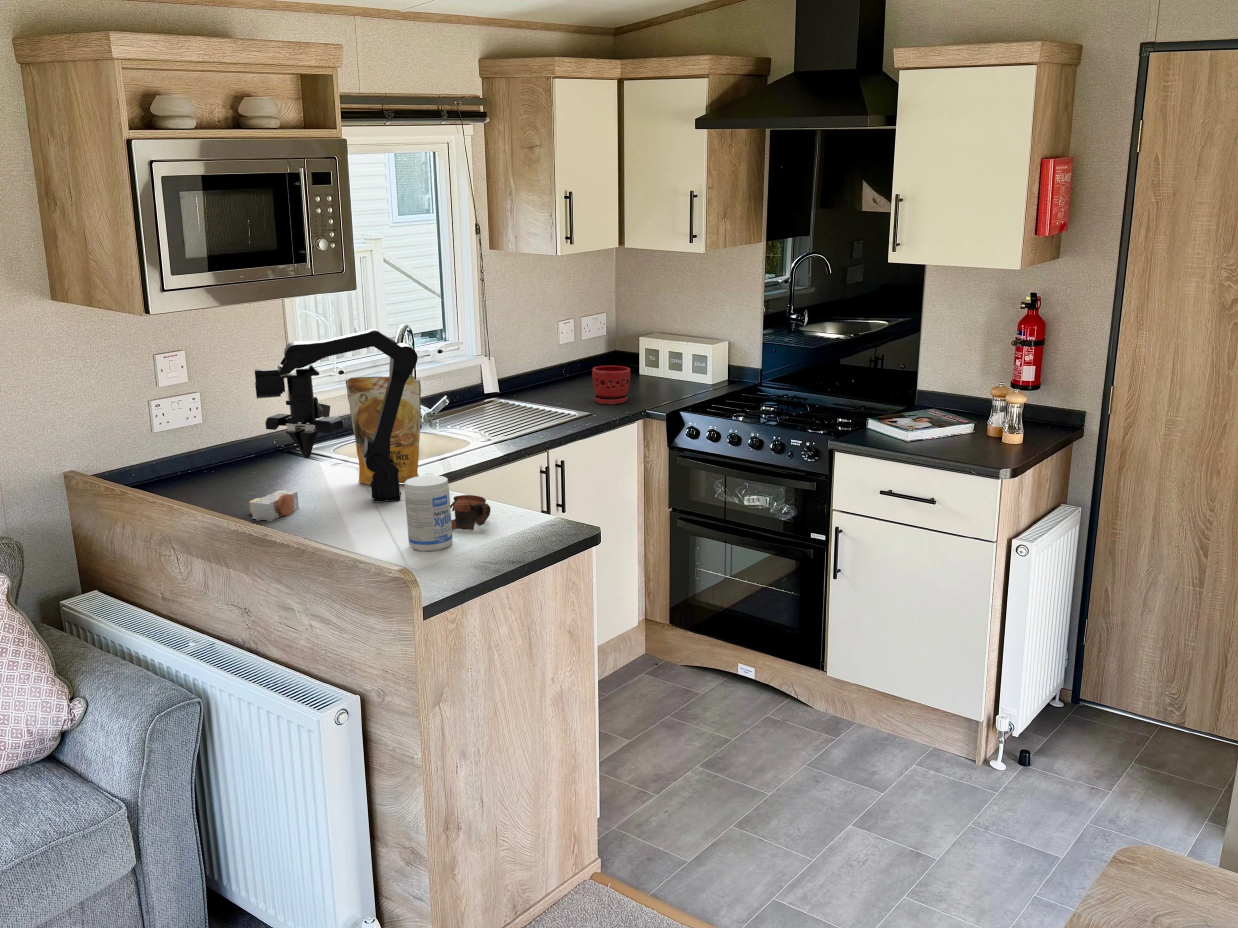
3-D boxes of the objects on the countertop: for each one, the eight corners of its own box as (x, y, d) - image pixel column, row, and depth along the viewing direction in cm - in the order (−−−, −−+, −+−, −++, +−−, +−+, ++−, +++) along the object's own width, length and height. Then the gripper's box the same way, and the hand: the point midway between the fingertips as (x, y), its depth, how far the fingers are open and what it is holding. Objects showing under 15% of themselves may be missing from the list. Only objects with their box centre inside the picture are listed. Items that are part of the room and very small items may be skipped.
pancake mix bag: (358, 478, 305) (348, 375, 298) (428, 478, 304) (420, 374, 297) (351, 485, 299) (341, 380, 292) (422, 484, 297) (414, 379, 290)
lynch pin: (295, 512, 277) (293, 491, 276) (282, 518, 272) (279, 497, 271) (261, 509, 281) (259, 488, 279) (247, 515, 276) (245, 494, 275)
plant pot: (610, 407, 385) (609, 372, 382) (585, 402, 394) (584, 368, 391) (639, 401, 393) (638, 367, 390) (613, 396, 403) (612, 363, 400)
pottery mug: (438, 530, 261) (441, 495, 263) (468, 538, 268) (471, 504, 270) (475, 525, 254) (478, 489, 256) (505, 533, 261) (508, 498, 263)
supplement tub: (445, 553, 244) (440, 486, 240) (402, 552, 245) (397, 486, 242) (458, 538, 253) (454, 474, 249) (417, 537, 255) (412, 474, 251)
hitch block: (299, 508, 280) (297, 491, 279) (270, 521, 270) (268, 504, 269) (282, 506, 282) (280, 490, 281) (253, 519, 272) (251, 502, 271)
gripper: (353, 390, 277) (358, 452, 281) (289, 387, 284) (296, 447, 288) (326, 399, 267) (332, 463, 271) (260, 395, 274) (267, 458, 278)
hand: (307, 457), depth 277 cm, fingers closed
